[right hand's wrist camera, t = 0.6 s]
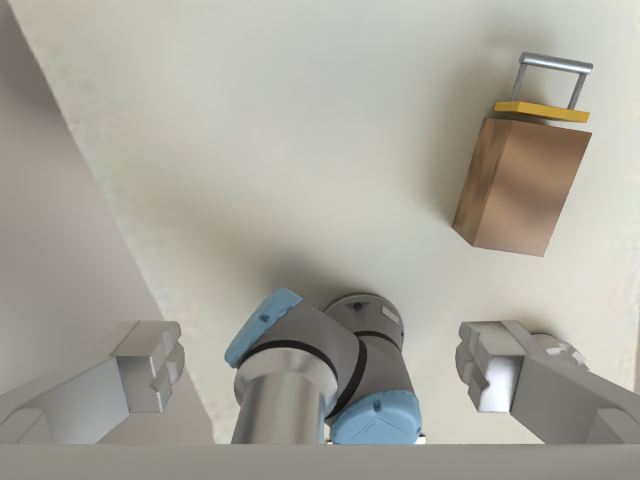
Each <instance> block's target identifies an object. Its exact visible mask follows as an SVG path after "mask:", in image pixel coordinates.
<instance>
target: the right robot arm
mask: <svg viewBox="0 0 640 480" xmlns="http://www.w3.org/2000/svg"><path fill="white" fill-rule="evenodd" d="M180 336H181V330H180V325H179V324H178V323H177V322H176V321H140V320H139V321H122V322H120V323H119V324H118V326H117V327H116V328H115V329H114V330H113V331H112V332H111V333H110V334H109V335H108V336H107V337H106V338H105V340H104V341H103V342H102V343H101V344H100V345H99V346H98V347H97V348H96V349H95V350H94V351H93V353H92V354H91V355H90V356H82V357H80V358H78V359H76V360H74V361H72V362H70V363H67V364H65V365H63V366H61V367H59V368H57V369H55V370H53V371H51V372H49V373H47V374H45V375H42V376H40V377H38V378H36V379H34V380H32V381H30V382H28V383H26V384H24V385H22V386H20V387H18V388H15V389H13V390H11V391H9V392H7V393H5V394H3V395H1V396H0V480H640V396H639V395H637V394H635V393H633V392H631V391H629V390H627V389H624V388H622V387H620V386H618V385H616V384H614V383H612V382H610V381H608V380H606V379H604V378H602V377H599V376H597V375H595V374H593V373H591V372H589V371H587V370H585V369H583V368H581V367H579V366H577V365H575V364H572V363H570V362H568V361H566V360H564V359H562V358H560V357H558V356H550V355H549V353H548V352H547V351H546V350H545V349H544V348H543V347H542V346H541V345H540V344H539V343H538V342H537V341H536V339H535V338H534V337H533V336H532V335H531V334H530V333H529V332H528V331H527V330H526V329H525V328H524V327H523V325H522V324H521V323H520V322H518V321H515V320H510V321H481V322H462V324H461V326H460V330H459V336H460V337H461V339H462V342H461V343H460V344H459V345H458V346H457V348H456V356H455V359H456V368H457V371H458V374H459V377H460V379H461V381H462V382H464V383H465V384H467V385H468V386H469V389H468V394H469V396H470V398H471V400H472V402H473V404H474V406H475V408H476V410H477V411H478V412H489V413H511V414H510V415H511V416H513V417H514V418H515V419H516V420H518V421H519V422H520V423H521V424H522V425H524V426H525V427H526V428H527V429H529V430H530V431H531V432H532V433H533V434H535V435H536V436H537V437H538V438H539V439H541V440H542V441H543V442H544V443H546V444H95V443H96V442H97V441H98V440H99V439H101V438H102V437H103V436H104V435H106V434H107V433H108V432H109V431H110V430H112V429H113V428H114V427H115V426H116V425H118V424H119V423H120V422H121V421H123V420H124V419H125V418H126V417H127V416H129V413H150V412H162V411H163V410H164V408H165V406H166V404H167V402H168V400H169V398H170V396H171V394H172V389H171V386H172V385H173V384H175V383H176V382H177V381H179V379H180V376H181V374H182V371H183V367H184V348H183V346H182V345H181V344H180V343H179V342H178V339H179V337H180Z"/></svg>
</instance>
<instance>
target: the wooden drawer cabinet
mask: <svg viewBox="0 0 640 480" xmlns="http://www.w3.org/2000/svg"><path fill="white" fill-rule="evenodd" d="M591 135H592V133H589V132H583V131H577V130H571V129H565V128H559V127H553V126H547V125H541V124H535V123H529V122H522V121H516V120H506V119H492V118H484V121H483V124H482V127H481V131H480V134H479V138H478V141H477V144H476V148H475V151H474V155H473V158H472V161H471V165H470V168H469V172H468V175H467V178H466V182H465V185H464V188H463V192H462V195H461V199H460V202H459V205H458V209H457V212H456V216H455V219H454V222H453V226H452V228H453V229H454V230H455V231H456V232H457V233H458V234H459V235H460V236H461V237H463V238H464V239H465V240H466V241H467V242H468V243H469V244H470V245H471V246H472V247H478V248H485V249H492V250H499V251H506V252H513V253H520V254H526V255H533V256H540V257H543V256H544V253H545V250H546V248H547V245H548V243H549V240H550V238H551V235H552V233H553V230H554V228H555V225H556V223H557V220H558V218H559V215H560V213H561V210H562V208H563V205H564V203H565V200H566V198H567V195H568V193H569V190H570V188H571V185H572V183H573V180H574V178H575V175H576V173H577V170H578V168H579V165H580V163H581V160H582V158H583V155H584V153H585V150H586V148H587V145H588V143H589V140H590V138H591Z"/></svg>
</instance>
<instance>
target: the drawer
mask: <svg viewBox="0 0 640 480" xmlns="http://www.w3.org/2000/svg"><path fill="white" fill-rule="evenodd" d="M519 63H520V64H521V65H520V68H519V71H518V74H517V78H516V81H515V84H514V87H513V90H512V94H511V97H510V100H509V102H496V104H495V108H494V111H498V112H504V113H510V114H516V115H522V116H528V117H534V118H540V119H546V120H552V121H565V122H581V123H586V122H587V119H588V117H589V114H590V113H587V112H581V111H575V110H574V107H575V105H576V102H577V99H578V97H579V94H580V91H581V89H582V86H583V83H584V81H585V78H586V75H588V74H589V73H590V72H591V71H592V69H593V64H591V63H586V62H580V61H575V60H569V59H563V58H557V57H552V56H546V55H540V54H535V53H529V52H523V53H522V54H521V56H520V59H519ZM527 65H531V66H537V67H543V68H549V69H554V70H560V71H566V72H572V73H578V74H580V75H579V78H578V80H577V83H576V86H575V89H574V91H573V94H572V97H571V99H570V102H569V105H568V108H567V109H563V108H557V107H552V106H546V105H540V104H534V103H528V102H522V101H516V98H517V95H518V92H519V89H520V85H521V82H522V79H523V76H524V73H525V70H526V67H527Z"/></svg>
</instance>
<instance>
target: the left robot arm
mask: <svg viewBox="0 0 640 480" xmlns="http://www.w3.org/2000/svg"><path fill="white" fill-rule="evenodd" d="M403 340H404V329H403V323H402V320H401V318H400V315H399V313H398V311H397V310H396V309H395V307H394V306H393V305H392V304H391V303H390V302H388V301H387V300H385V299H384V298H382V297H379V296H377V295H373V294H368V293H355V294H350V295H346V296H343V297H341V298H339V299H337V300H335V301H334V302H333V303H331V304H330V305H329V306H328V307H327V308H326V309H325V311H324V312H322V311H320V310H319V309H317V308H316V307H314V306H313V305H312V304H310V303H309V302H307V301H306V299H305V298H304V297H300V296H299V295H297V294H295V293H294V292H292V291H291V290H289V289H287V288H279V289H277V290H275V291H274V292H272V293H271V294H270V295H269V296H268V297H267V298H266V299H265V300H264V301H263V303H262V304H261V305H260V306H259V307H258V308H257V310H256V311H255V312H254V313H253V314H252V316H251V317H250V318H249V319H248V321H247V322H246V323H245V325H244V326H243V327H242V328H241V330H240V331H239V333H238V334H237V335H236V337H235V338H234V340H233V341H232V343H231V344H230V346H229V347H228V349H227V351H226V353H225V360H226V362H228V363H229V364H230V367H232V368H237V369H238V371H237V374H236V377H235V381H234V392H235V397H236V400H237V402H238V404H239V405H240V407H241V409H240V413H239V416H238V420H237V423H236V427H235V430H234V434H233V437H232V441H231V444H323V441H324V423H326V424H327V425H328V426H329V427H330V434H329V435H330V439H331V441H332V444H414V443H415V442H416V441H417V439H418V437H419V435H420V432H421V426H422V418H421V413H420V408H419V401H418V398H417V397H416V395H415V393H414V390H413V387H412V384H411V381H410V378H409V375H408V372H407V369H406V366H405V363H404V360H403V357H402V354H401V352H402V345H403Z"/></svg>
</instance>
